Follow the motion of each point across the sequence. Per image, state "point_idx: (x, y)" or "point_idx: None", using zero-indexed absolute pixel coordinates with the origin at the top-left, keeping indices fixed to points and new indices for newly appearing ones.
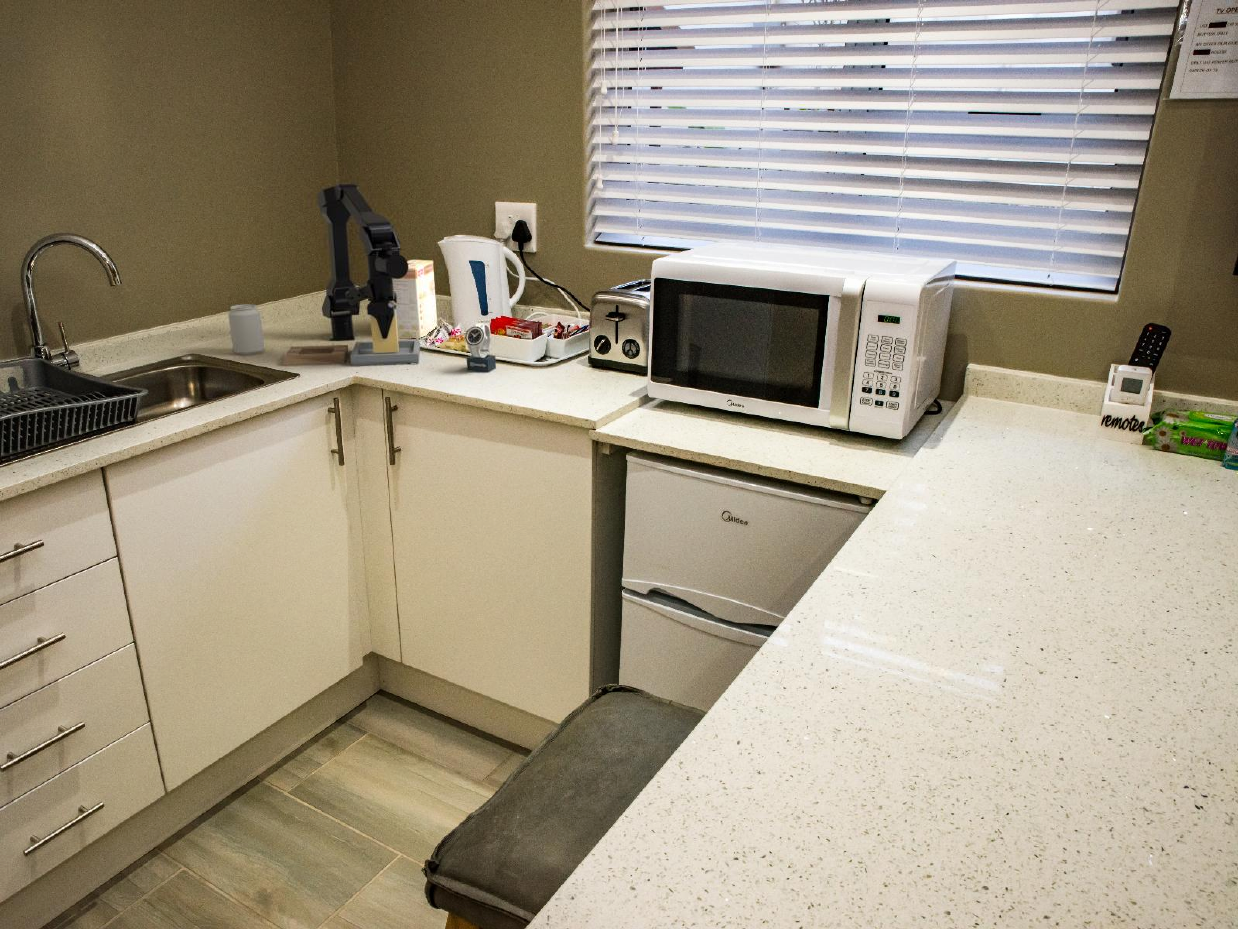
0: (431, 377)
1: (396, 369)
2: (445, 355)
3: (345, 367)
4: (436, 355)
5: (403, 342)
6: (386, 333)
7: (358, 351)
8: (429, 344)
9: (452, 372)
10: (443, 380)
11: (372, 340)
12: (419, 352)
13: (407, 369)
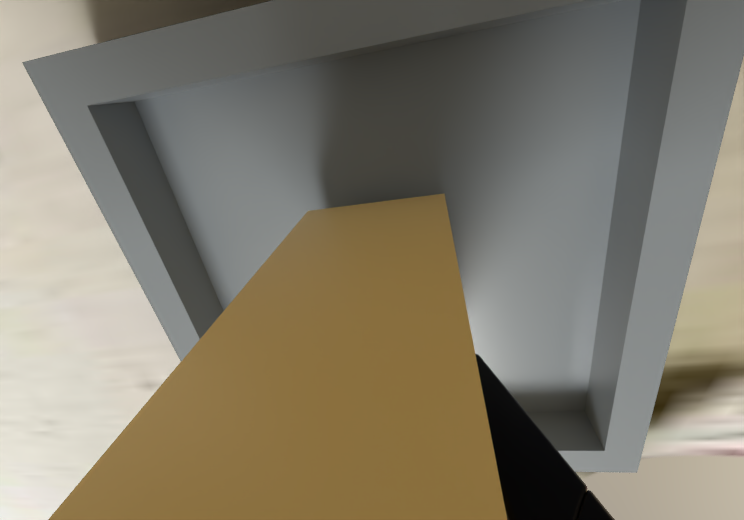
0: (72, 456)
1: (133, 344)
2: None
3: (56, 22)
4: None
5: (610, 385)
6: None
7: (341, 55)
8: (739, 450)
9: None
10: (56, 482)
11: (269, 259)
12: None
13: (150, 384)
